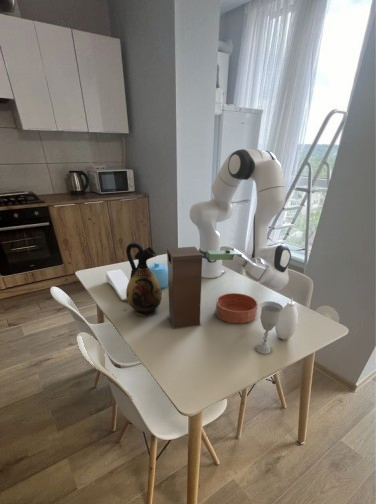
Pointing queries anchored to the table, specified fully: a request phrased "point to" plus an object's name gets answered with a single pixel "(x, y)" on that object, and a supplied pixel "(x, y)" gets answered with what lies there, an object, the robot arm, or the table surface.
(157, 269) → the sugar bowl
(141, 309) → the ceramic jug
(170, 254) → the stand
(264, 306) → the chalice
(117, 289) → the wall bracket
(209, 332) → the table surface
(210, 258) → the green rectangular block
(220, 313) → the bowl
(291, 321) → the white tall oval piece
